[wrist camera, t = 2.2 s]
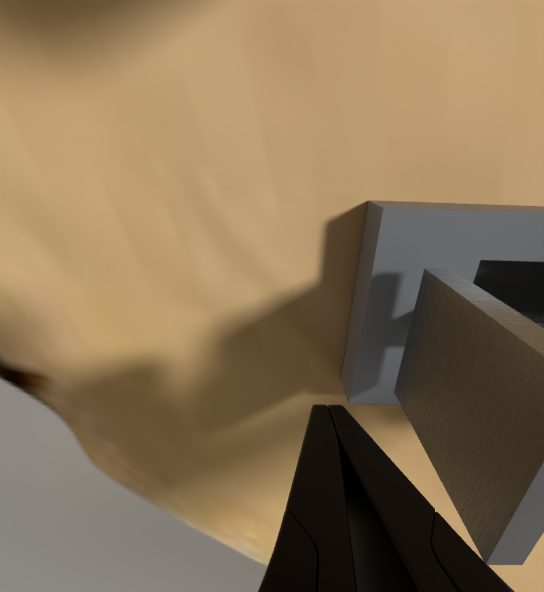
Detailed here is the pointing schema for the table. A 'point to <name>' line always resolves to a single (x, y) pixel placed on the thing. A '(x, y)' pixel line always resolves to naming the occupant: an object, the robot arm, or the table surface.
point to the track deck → (440, 255)
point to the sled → (479, 409)
